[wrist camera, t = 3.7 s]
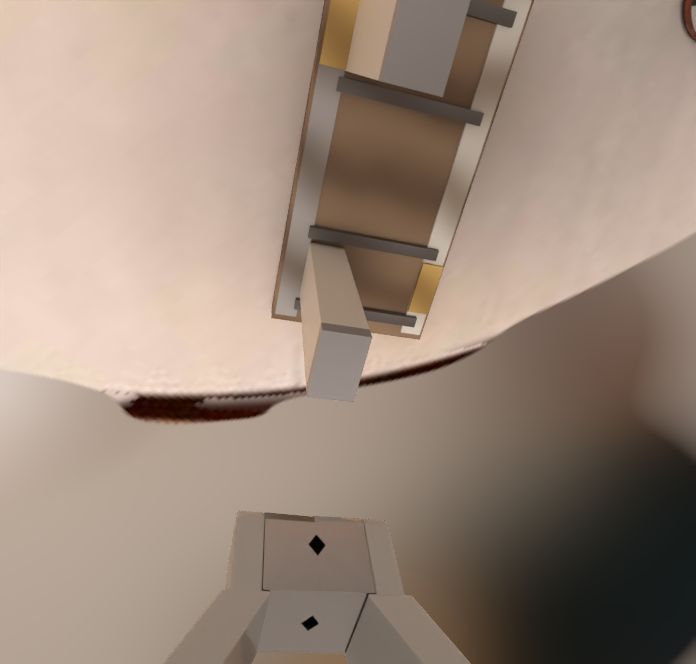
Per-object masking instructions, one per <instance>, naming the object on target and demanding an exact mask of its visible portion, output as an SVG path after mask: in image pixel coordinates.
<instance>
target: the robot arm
mask: <svg viewBox="0 0 696 664" xmlns="http://www.w3.org/2000/svg"><path fill="white" fill-rule="evenodd" d="M293 652H305V653H333V654H345V658H346V660H347V661H348V663H349V664H471V663H470V662H469V661H468V660H467V659H466V658H465V657H464V655H463V654H462V653H461V652H460V651H459V650H458V649H457V647H456V646H455V645H454V644H453V643H452V642H451V641H450V639H449V638H448V637H447V636H446V635H445V634H444V633H443V631H442V630H441V629H440V628H439V627H438V626H437V624H436V623H435V622H434V621H433V620H432V619H431V618H430V616H429V615H428V614H427V613H426V612H425V611H424V610H423V608H421V606H420V605H419V604H418V603H417V601H416V600H415V599H414V598H413V597H412V596H406V595H404V591H403V587H402V583H401V578H400V574H399V570H398V565H397V561H396V557H395V552H394V548H393V544H392V540H391V535H390V531H389V526H388V524H387V523H386V521H385V520H384V521H383V520H370V519H359V518H340V517H320V516H313V517H308V516H298V515H287V514H276V513H262V512H250V511H238V512H237V516H236V521H235V527H234V533H233V538H232V544H231V549H230V556H229V563H228V569H227V576H226V585H225V590H221V591H220V592H219V594H218V595H217V596H216V598H215V599H214V600H213V601H212V603H211V604H210V605H209V607H208V608H207V609H206V611H204V613H203V614H202V615H201V617H200V618H199V619H198V620H197V622H196V623H195V624H194V625H193V627H192V628H191V629H190V630H189V632H188V633H187V634H186V636H185V637H184V638H183V639H182V641H181V642H180V643H179V644H178V646H177V647H176V648H175V649H174V651H173V652H172V653H171V655H170V656H169V657H168V658H167V660H166V661H165V662H164V663H163V664H251V663H252V662H253V660H254V658H255V656H256V653H293Z"/></svg>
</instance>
